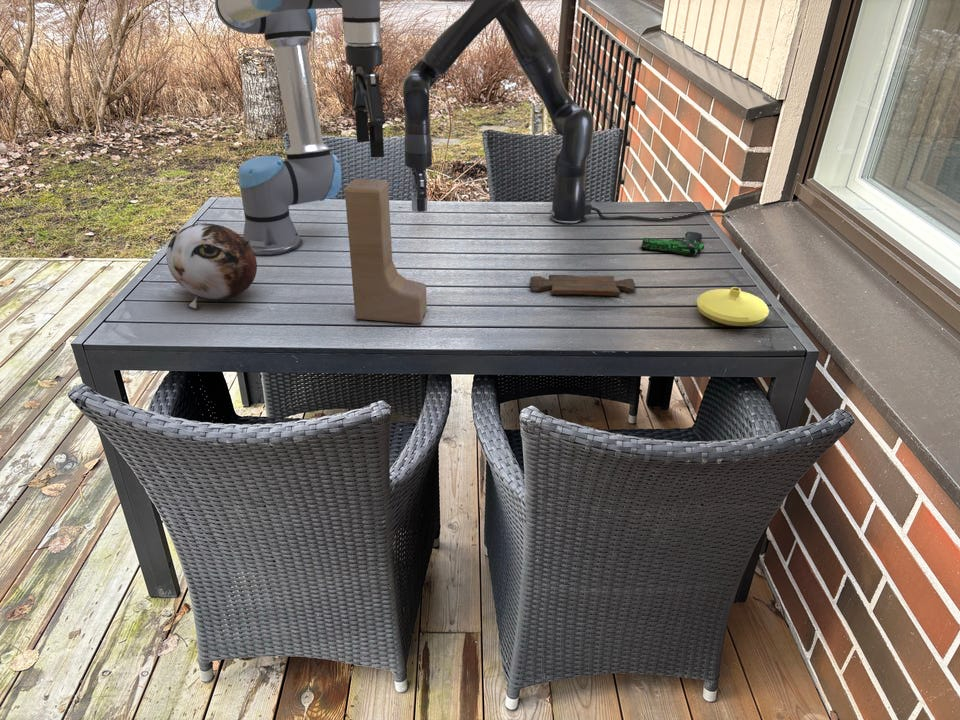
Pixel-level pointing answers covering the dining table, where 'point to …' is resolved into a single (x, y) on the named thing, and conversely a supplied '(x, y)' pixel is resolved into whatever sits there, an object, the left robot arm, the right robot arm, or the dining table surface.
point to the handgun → (676, 244)
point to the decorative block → (378, 258)
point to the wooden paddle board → (581, 285)
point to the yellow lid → (732, 307)
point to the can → (414, 202)
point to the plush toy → (211, 261)
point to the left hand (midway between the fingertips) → (370, 149)
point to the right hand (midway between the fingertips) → (419, 208)
